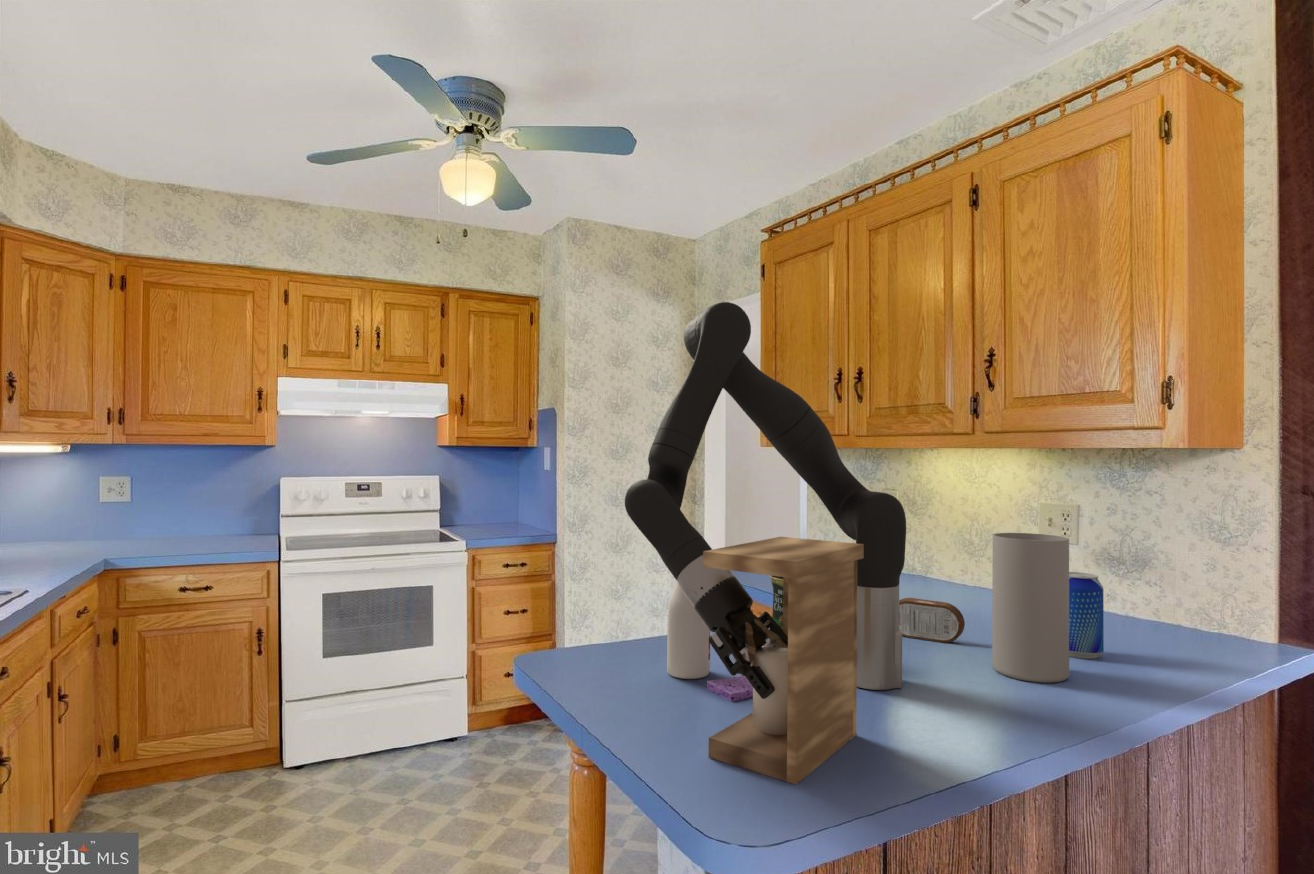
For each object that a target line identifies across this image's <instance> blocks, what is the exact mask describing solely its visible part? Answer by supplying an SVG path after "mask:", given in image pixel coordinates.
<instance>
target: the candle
mask: <svg viewBox="0 0 1314 874" xmlns="http://www.w3.org/2000/svg"><path fill="white" fill-rule="evenodd" d="M754 655H755V659H756V663H757V665H756V667H757V666H759V667H760V668H761V669H762V671H763V672H764V674H765V675H766V676H767V678H768V679H769V680H770V682H771V683H772V684H773V686H774V687H775V691H774V692H773V693H772V694H771V695H770V696H769V697H767V698H765V699H762V698H761V697H760V695H759V694H758V693H757V692H756V690H755V689H754V688H753V697H752V713H753V727H754V728H755V729H756V730H758V731H760V732H763V733H767V734H773V735H785V734H787V705H788V649H787V648H782V647H761V648H757V649H756V651H755V653H754Z"/></svg>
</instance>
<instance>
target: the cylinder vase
mask: <svg viewBox="0 0 1314 874" xmlns="http://www.w3.org/2000/svg"><path fill="white" fill-rule="evenodd" d="M1069 572H1070V538H1068V537H1066V536H1059V535H1053V534H1044V533H1028V532H1027V533H1026V532H997V533H993V534H992V575H991V576H992V578H991V579H992V580H991V581H992V585H991V586H992V593H991V594H992V595H991V597H992V603H991V604H992V605H991V606H992V609H991V610H992V613H991V614H992V619H991V620H992V622H991V623H992V627H991V628H992V631H991V632H992V635H991V636H992V637H991V639H992V641H991V644H992V646H991V649H992V650H991V651H992V653H991V655H992V656H991V660H992V664H991V665H992V667H993V669H994V670H995V671H996V672H998V673H999V674H1001V675H1003V676H1006V677H1009V678H1012V679H1016V680H1019V681H1025V682H1031V683H1040V684H1041V683H1042V684H1043V683H1044V684H1050V683H1051V684H1052V683H1053V684H1054V683H1060V682H1064V681H1065V680H1067V679H1068V678H1069V676H1070V656H1069Z"/></svg>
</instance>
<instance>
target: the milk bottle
mask: <svg viewBox="0 0 1314 874" xmlns="http://www.w3.org/2000/svg"><path fill="white" fill-rule="evenodd" d="M667 609H668V611H667V631H666V632H667V639H666V640H667V643H666V657H667V658H666V670H667V673H668V675H670V676H671V677H674V678H678V679H684V680H685V679H686V680H696V679H702V678H705V677H707V676H708V675H709V674H710V671H711V644H710V642H709V640H708V639H709V638H710V637H711V631H710V629H709V628H708V627H707V625H706V624H705V622H704V621H703V620H702V618H701V617H700V615H699V614H698V613H697V611H696V610H695V608H694V607H693V606H692V604H691V603H690V602H689V600H688V599H687V597H686V596H685V594H684V593H683V591H682V589H681V587H680V585H679V583H678V582H677V581H676V585H675V588H674V591H673V592H672V594H671V597H670V599H669V603H668V608H667Z"/></svg>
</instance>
